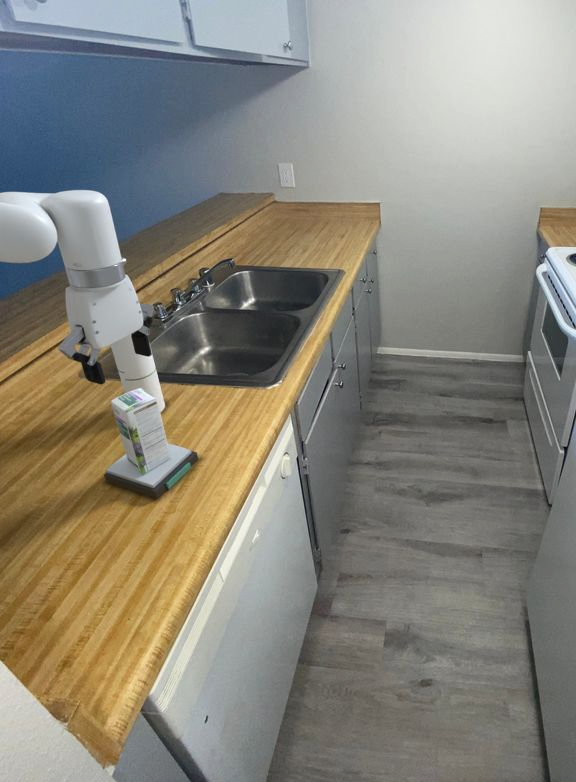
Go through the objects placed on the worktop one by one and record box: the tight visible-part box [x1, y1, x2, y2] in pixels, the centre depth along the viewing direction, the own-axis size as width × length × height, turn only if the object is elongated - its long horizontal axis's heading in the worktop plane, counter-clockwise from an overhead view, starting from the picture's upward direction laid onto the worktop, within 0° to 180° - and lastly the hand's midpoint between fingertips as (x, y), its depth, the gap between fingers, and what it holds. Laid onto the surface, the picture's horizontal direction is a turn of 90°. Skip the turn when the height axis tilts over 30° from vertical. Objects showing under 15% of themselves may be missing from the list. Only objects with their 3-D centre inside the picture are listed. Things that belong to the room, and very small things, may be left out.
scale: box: [103, 442, 199, 500], centre depth 92 cm, size 12×11×3 cm
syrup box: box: [110, 388, 171, 474], centre depth 88 cm, size 6×6×14 cm
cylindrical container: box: [110, 334, 166, 413], centre depth 104 cm, size 7×7×25 cm
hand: (121, 367), depth 81 cm, fingers open, 9 cm apart
